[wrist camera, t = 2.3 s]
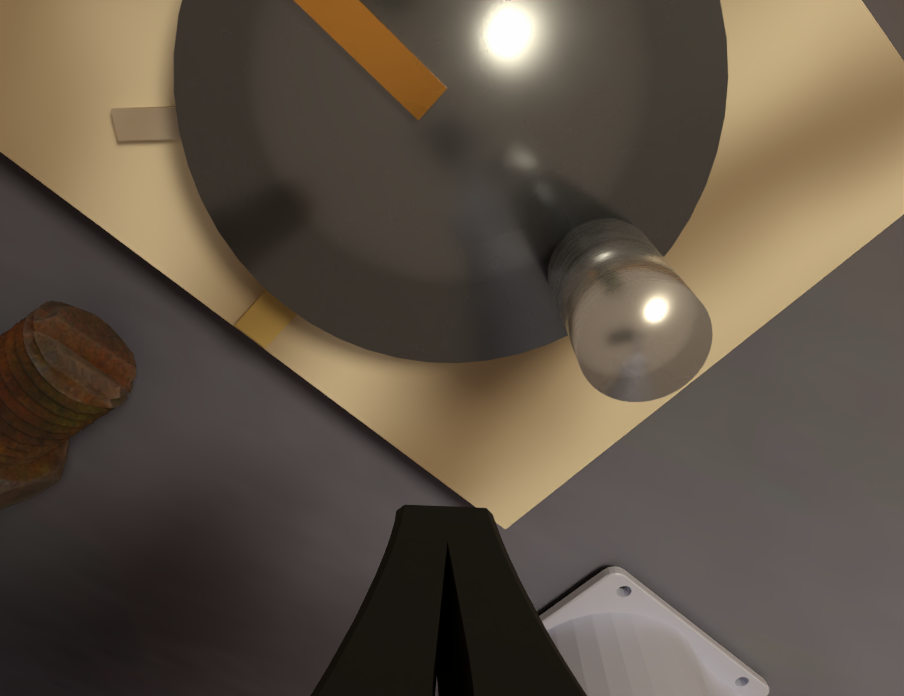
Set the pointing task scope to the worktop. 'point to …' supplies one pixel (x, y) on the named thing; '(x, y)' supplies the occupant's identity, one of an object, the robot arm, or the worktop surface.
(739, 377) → the worktop surface
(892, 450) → the worktop surface
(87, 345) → the bolt
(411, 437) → the board
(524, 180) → the dial
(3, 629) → the worktop surface
